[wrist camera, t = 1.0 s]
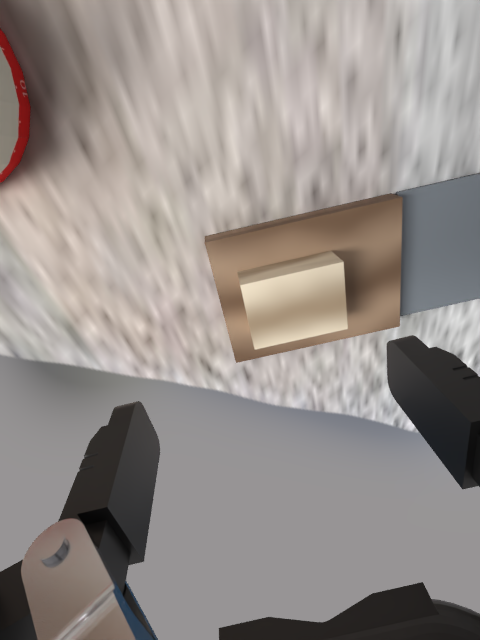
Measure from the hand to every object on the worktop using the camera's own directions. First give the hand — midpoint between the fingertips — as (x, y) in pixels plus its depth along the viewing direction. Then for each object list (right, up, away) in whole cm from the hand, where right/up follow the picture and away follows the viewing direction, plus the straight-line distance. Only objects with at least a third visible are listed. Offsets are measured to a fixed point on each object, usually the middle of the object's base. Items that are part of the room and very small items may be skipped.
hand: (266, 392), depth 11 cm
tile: (+3, +5, +19) cm, 20 cm away
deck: (+5, +6, +21) cm, 22 cm away
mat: (+18, +9, +20) cm, 29 cm away
